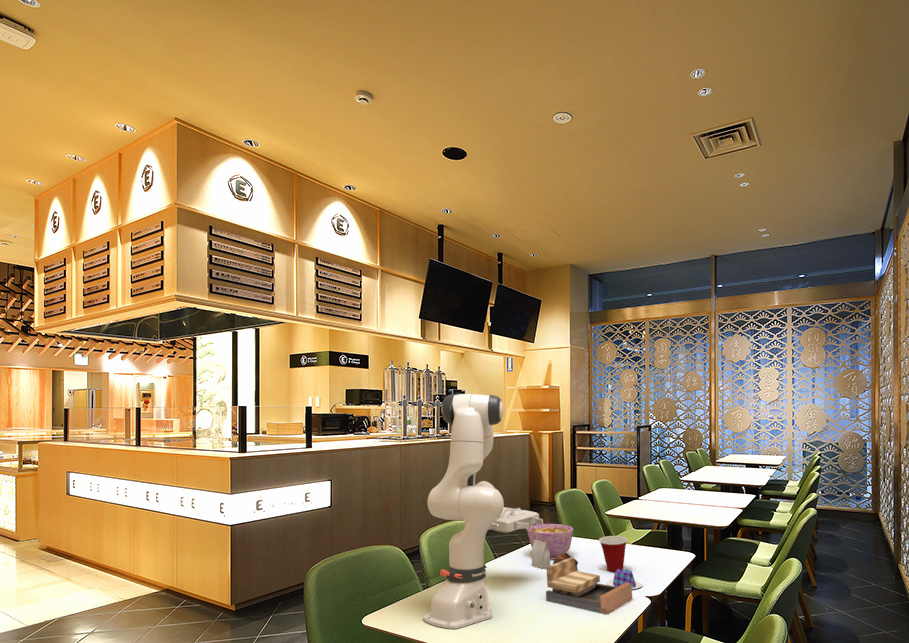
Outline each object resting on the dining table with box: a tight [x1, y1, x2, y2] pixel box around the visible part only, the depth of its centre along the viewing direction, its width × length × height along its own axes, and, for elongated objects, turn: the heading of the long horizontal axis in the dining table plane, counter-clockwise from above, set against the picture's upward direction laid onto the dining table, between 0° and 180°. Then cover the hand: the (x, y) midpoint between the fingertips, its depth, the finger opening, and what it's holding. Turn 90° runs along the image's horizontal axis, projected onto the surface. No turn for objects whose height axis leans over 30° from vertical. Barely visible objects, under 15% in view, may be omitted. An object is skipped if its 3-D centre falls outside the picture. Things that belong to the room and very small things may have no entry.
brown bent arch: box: [552, 552, 579, 571], centre depth 230 cm, size 12×10×8 cm
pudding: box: [606, 568, 643, 590], centre depth 213 cm, size 12×12×5 cm
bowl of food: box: [526, 523, 574, 558], centre depth 256 cm, size 20×20×12 cm
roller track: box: [545, 582, 633, 615], centre depth 198 cm, size 18×22×5 cm
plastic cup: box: [598, 535, 628, 574], centre depth 232 cm, size 11×11×12 cm
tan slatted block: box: [546, 556, 601, 596], centre depth 202 cm, size 16×11×9 cm
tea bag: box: [530, 540, 551, 570], centre depth 240 cm, size 4×7×10 cm, turn 37°
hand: (535, 524), depth 214 cm, fingers open, 7 cm apart
